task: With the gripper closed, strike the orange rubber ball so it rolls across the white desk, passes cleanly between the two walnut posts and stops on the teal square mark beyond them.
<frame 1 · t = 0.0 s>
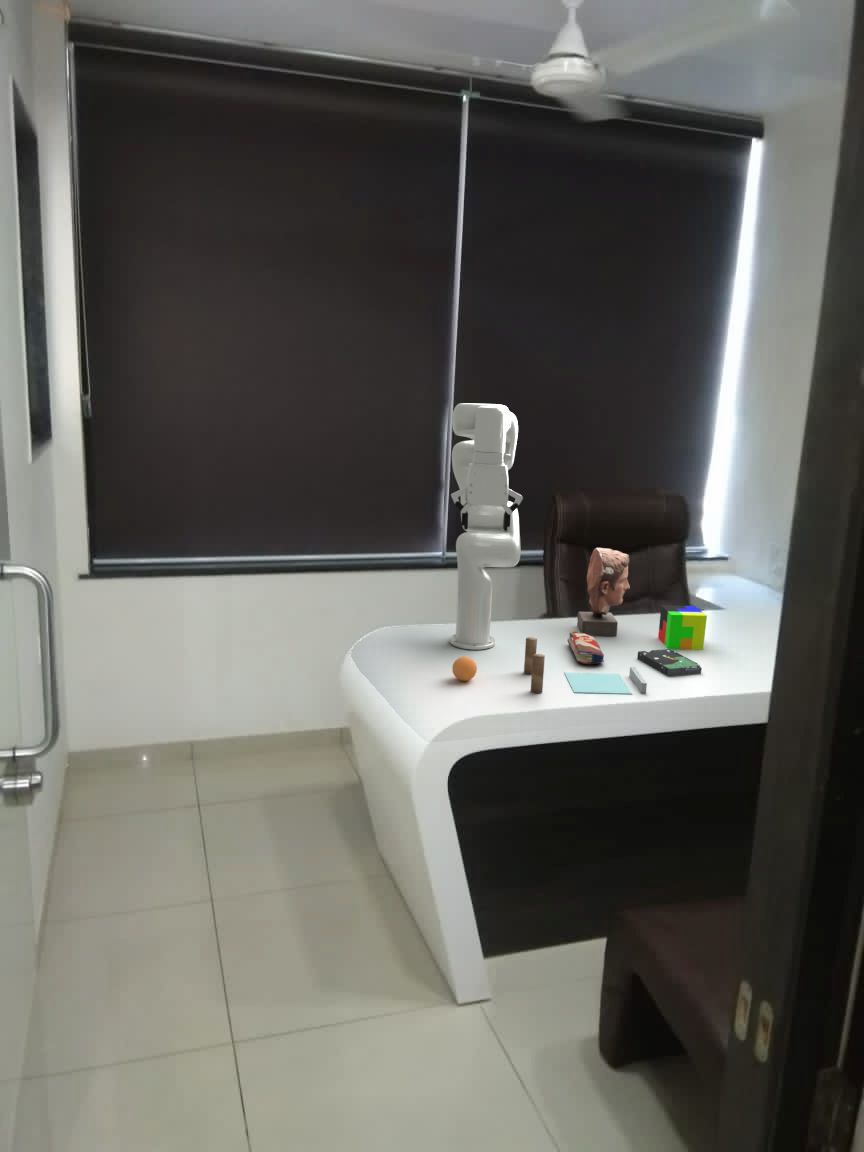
hand: (485, 529, 218), 37 cm above the table, tool pointing down, fingers open, 9 cm apart
pencil case: (584, 657, 243), on the table
stopper strip: (637, 684, 222), on the table
left post: (529, 672, 228), on the table
right post: (536, 691, 215), on the table
puzzle toy: (680, 644, 257), on the table
ball: (464, 668, 220), on the table
disk drive: (668, 668, 237), on the table
bust: (600, 632, 266), on the table
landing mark: (597, 683, 222), on the table
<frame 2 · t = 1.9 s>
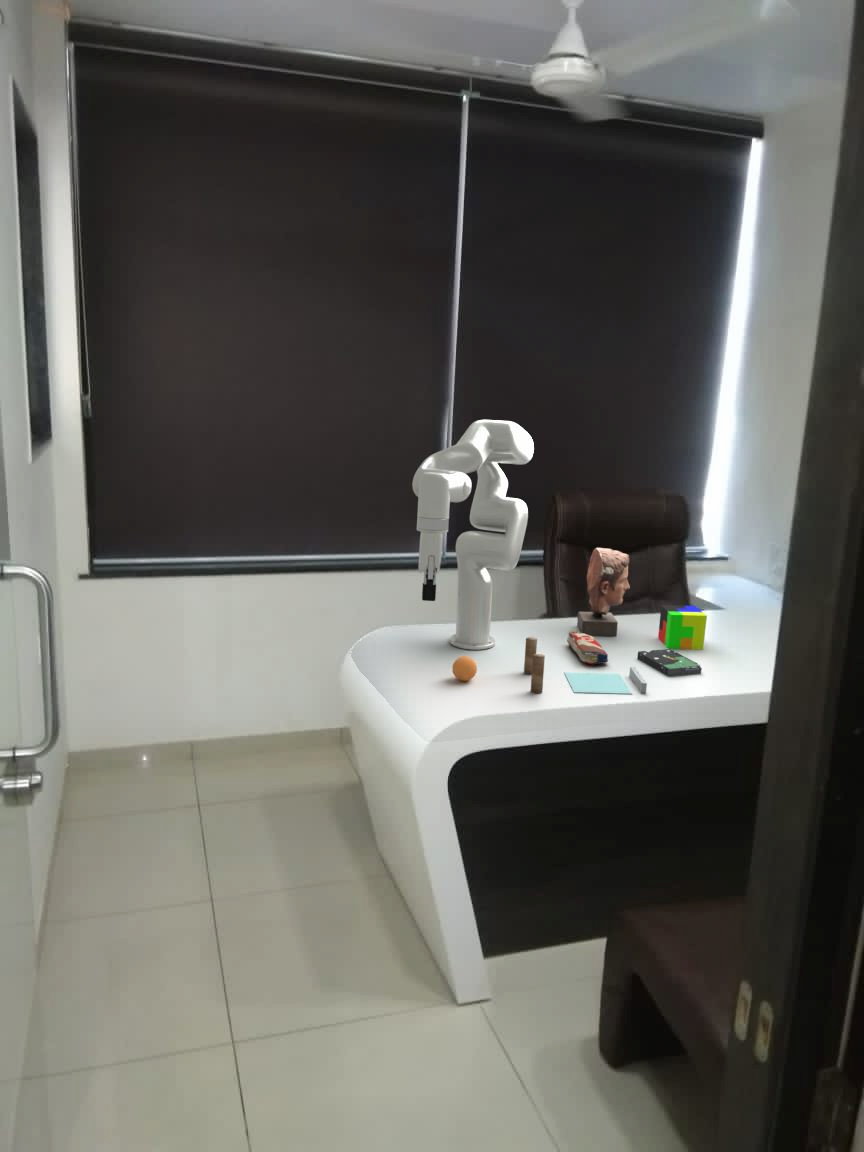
hand: (428, 599, 216), 20 cm above the table, tool pointing down, fingers closed
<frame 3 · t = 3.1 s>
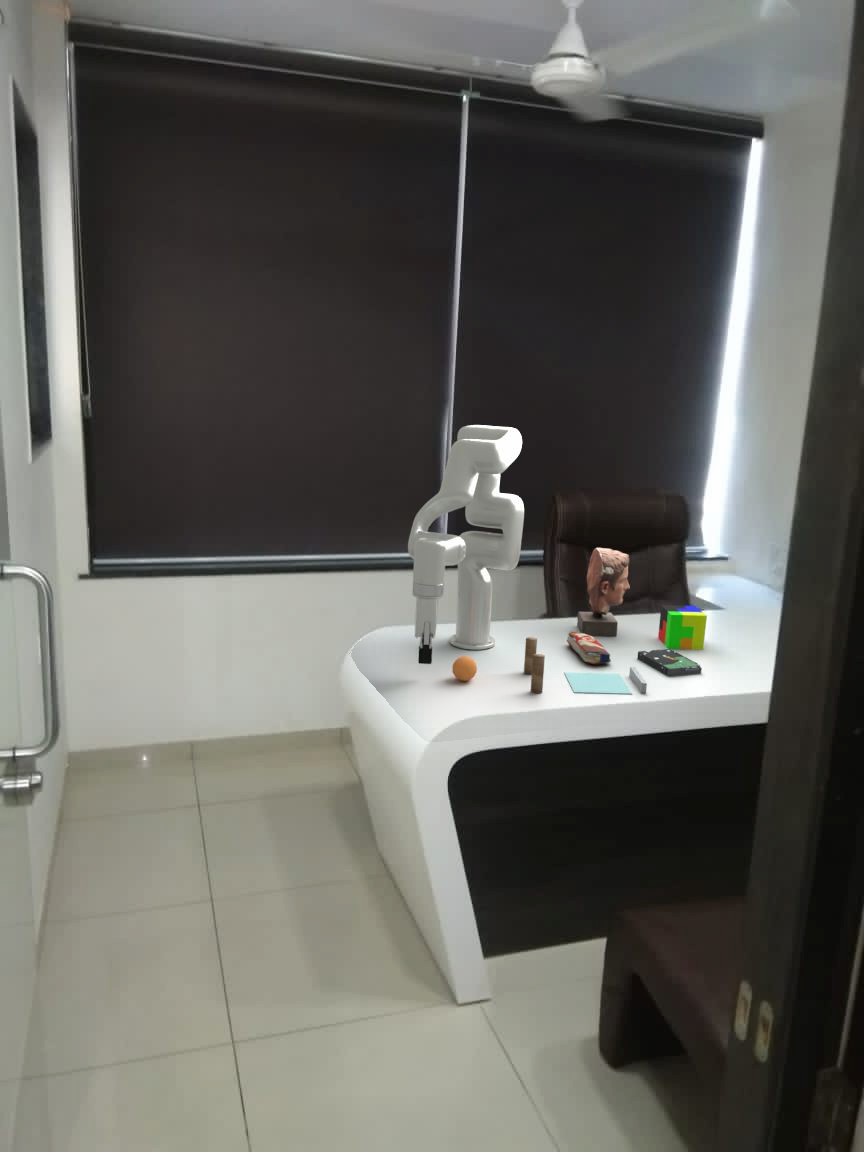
hand: (424, 662, 219), 4 cm above the table, tool pointing down, fingers closed
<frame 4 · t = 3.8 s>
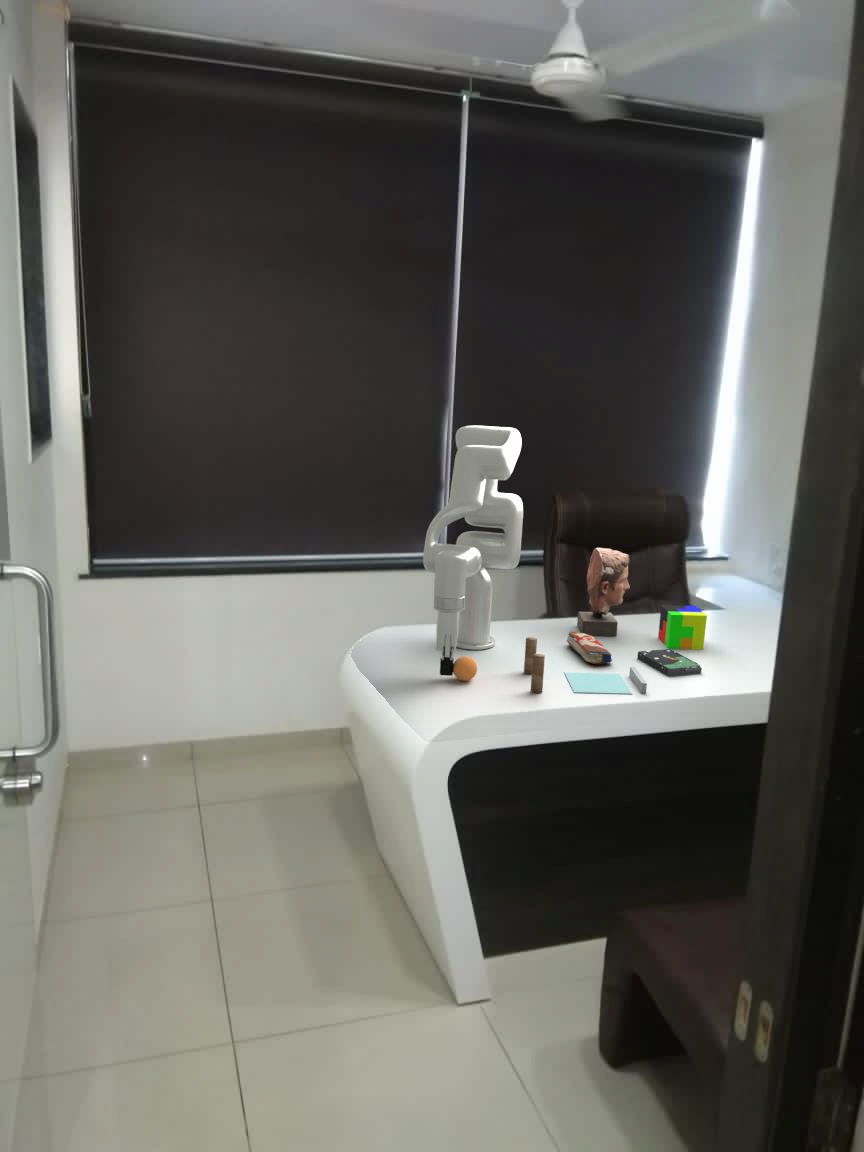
hand: (446, 674, 220), 1 cm above the table, tool pointing down, fingers closed
ball: (464, 668, 220), on the table, touching gripper
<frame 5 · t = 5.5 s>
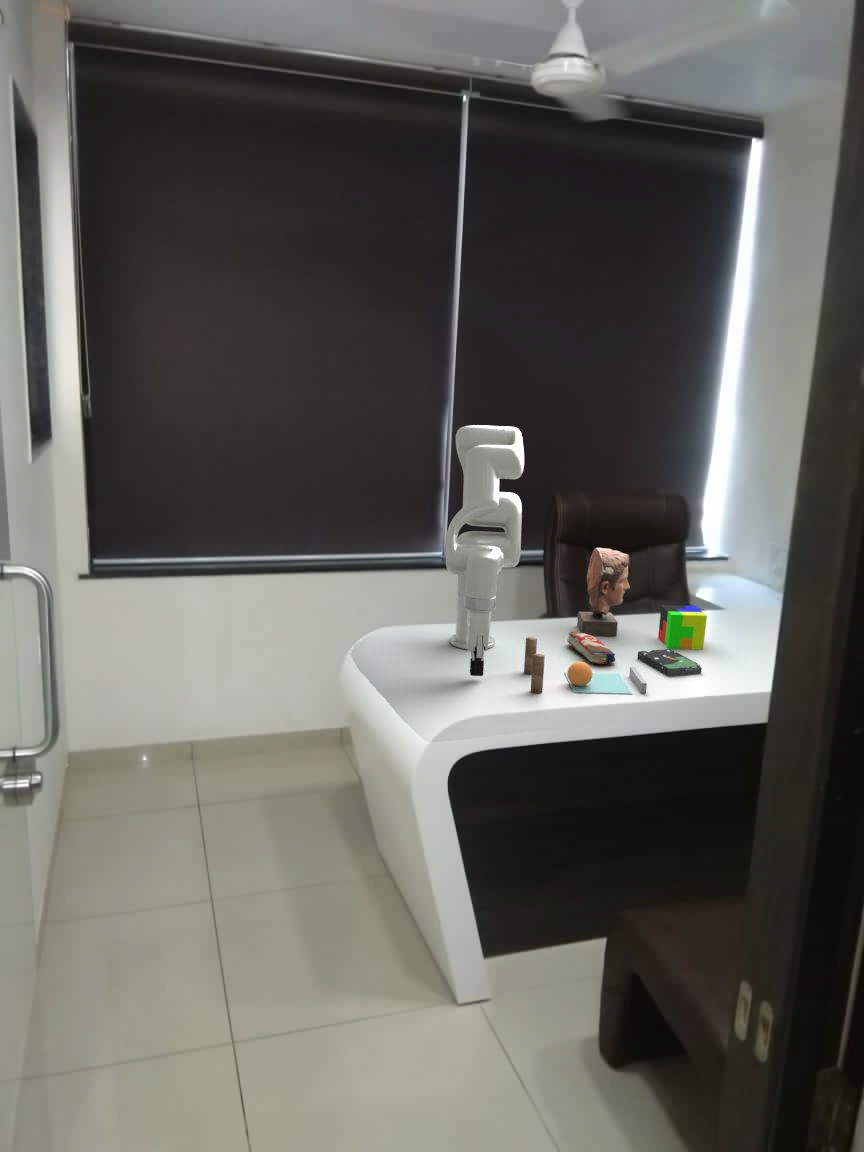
hand: (476, 674, 220), 2 cm above the table, tool pointing down, fingers closed
ball: (579, 674, 219), on the table
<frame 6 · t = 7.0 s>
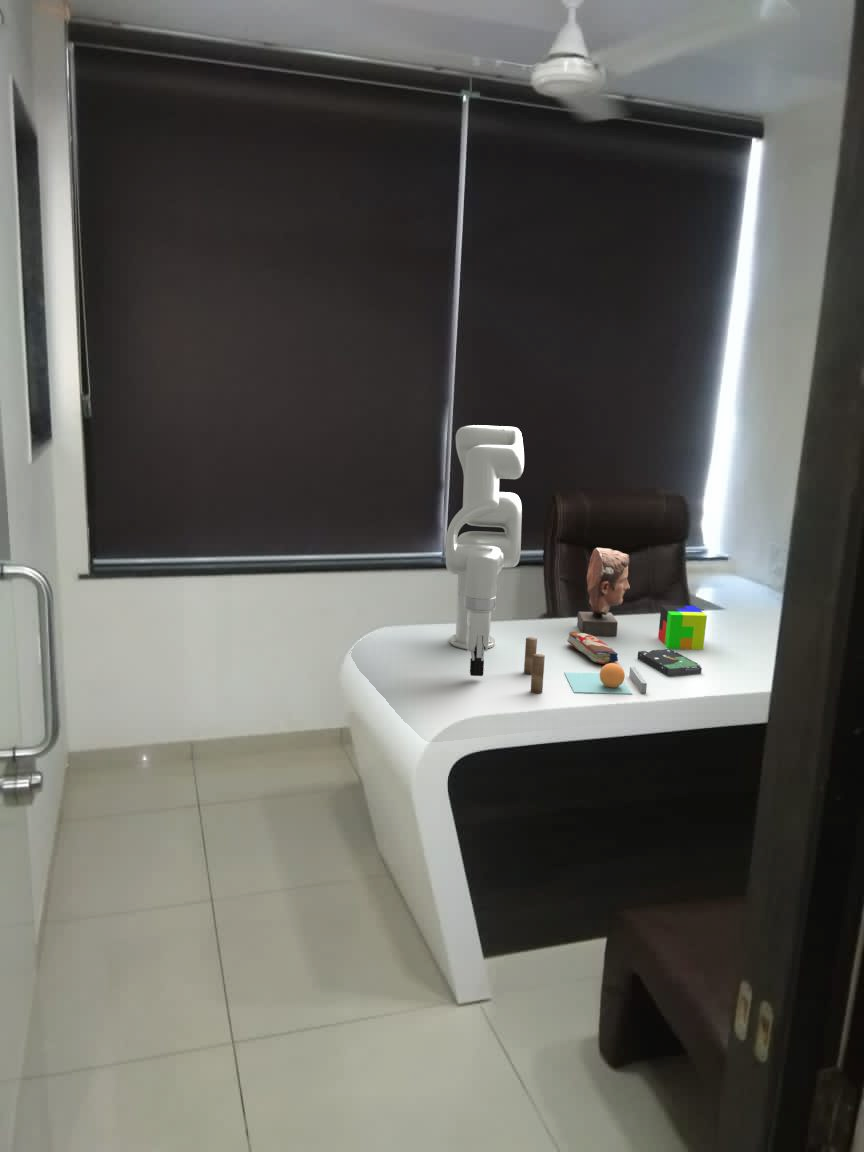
hand: (476, 674, 220), 2 cm above the table, tool pointing down, fingers closed
ball: (612, 675, 219), on the table
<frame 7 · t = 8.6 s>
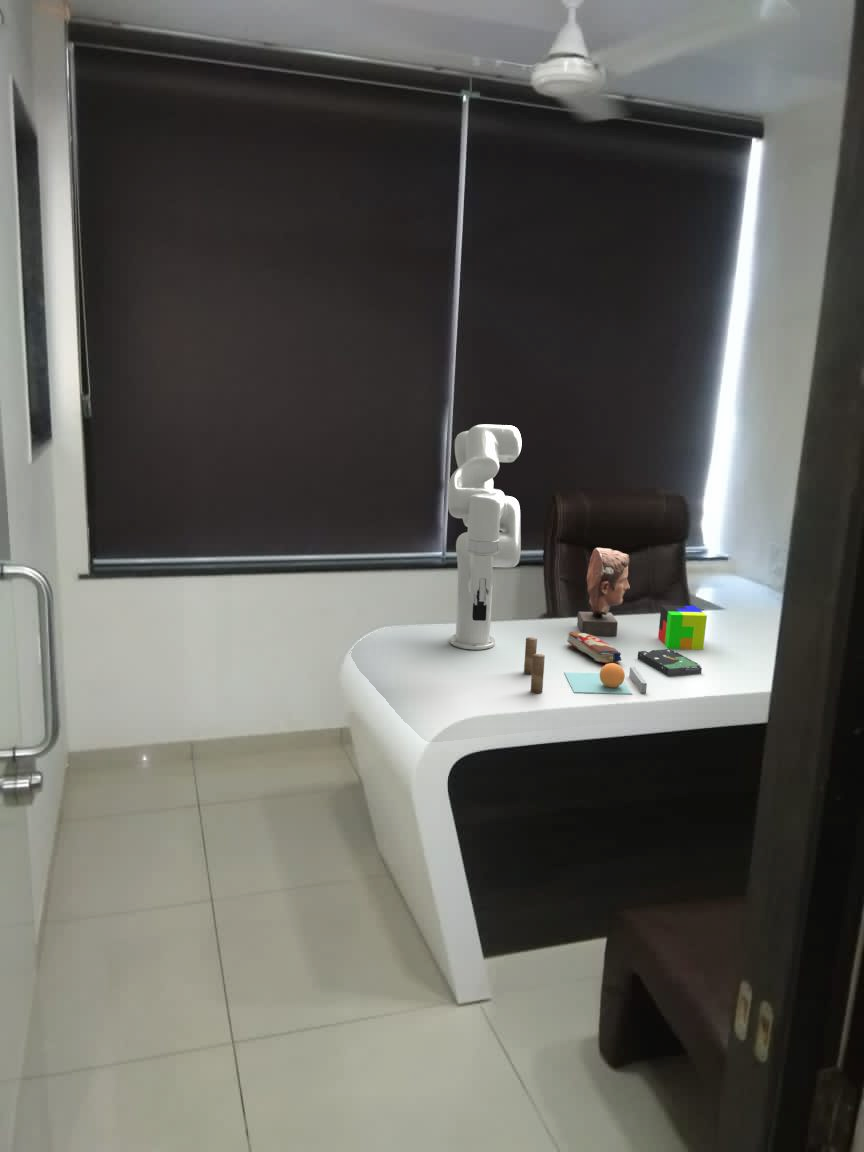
hand: (479, 619, 218), 15 cm above the table, tool pointing down, fingers closed
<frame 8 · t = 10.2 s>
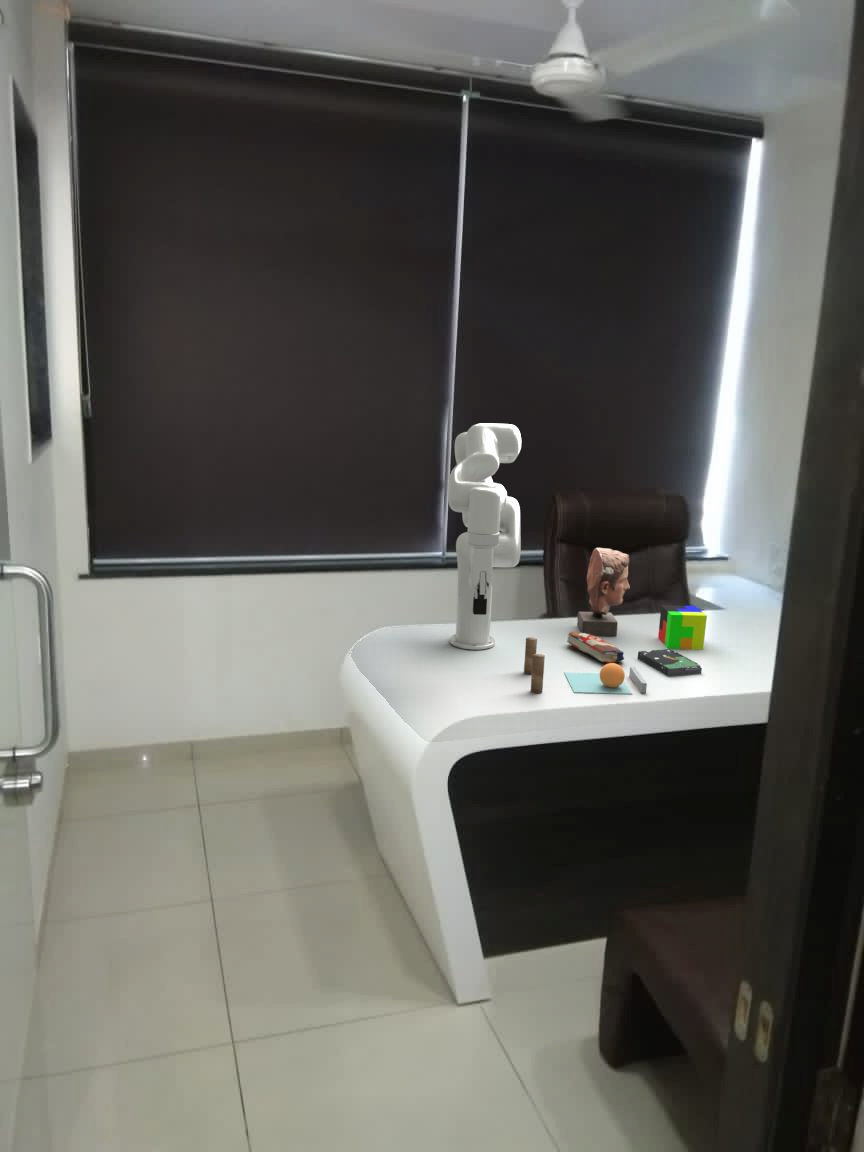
hand: (479, 613, 217), 17 cm above the table, tool pointing down, fingers closed
at the end: ball 3.8 cm from the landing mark (horizontally); ball never touched left post; ball never touched right post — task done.
